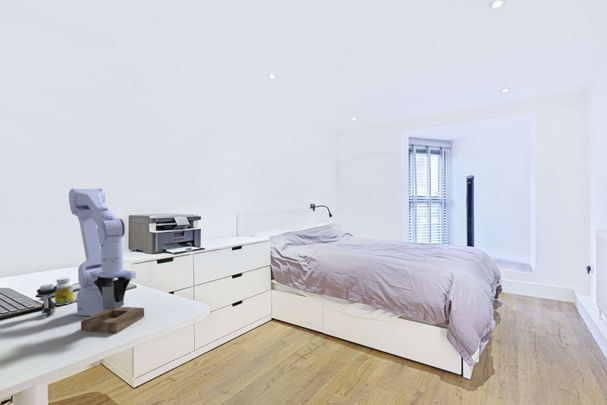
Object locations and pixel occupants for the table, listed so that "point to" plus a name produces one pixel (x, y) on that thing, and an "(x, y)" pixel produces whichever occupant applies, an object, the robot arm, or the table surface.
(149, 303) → the table surface
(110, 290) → the steel peg
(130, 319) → the socket block
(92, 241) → the robot arm
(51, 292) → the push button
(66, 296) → the supplement bottle
